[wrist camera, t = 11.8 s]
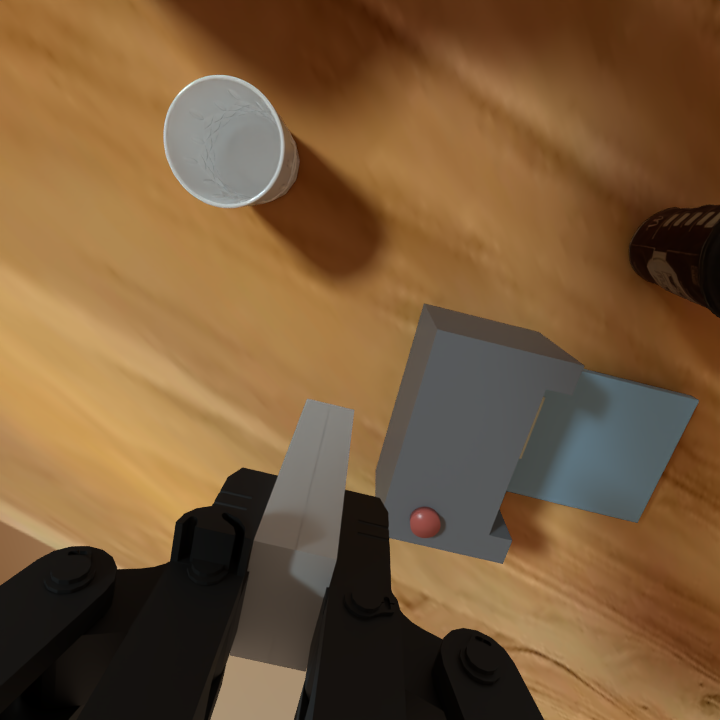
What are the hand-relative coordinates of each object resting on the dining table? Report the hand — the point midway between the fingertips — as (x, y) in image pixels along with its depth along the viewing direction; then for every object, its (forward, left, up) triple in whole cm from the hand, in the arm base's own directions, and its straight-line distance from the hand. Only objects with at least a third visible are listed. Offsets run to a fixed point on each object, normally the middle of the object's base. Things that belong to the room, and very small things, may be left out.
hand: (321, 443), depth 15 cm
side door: (+14, +15, -29) cm, 35 cm away
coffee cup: (-1, +27, -30) cm, 40 cm away
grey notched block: (+12, +8, -29) cm, 33 cm away
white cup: (-12, -7, -30) cm, 33 cm away
